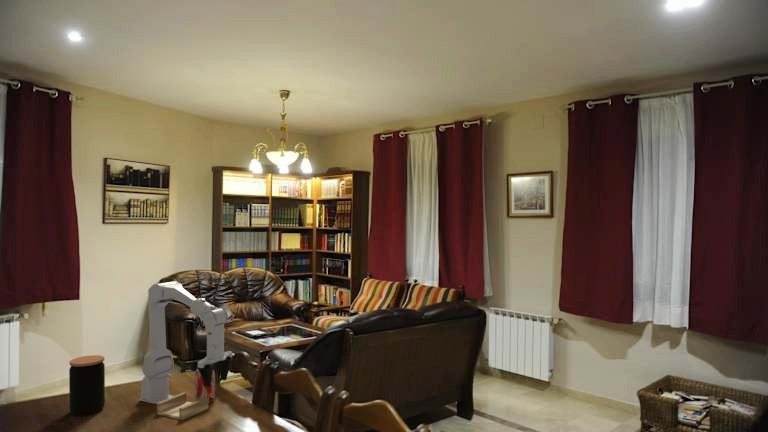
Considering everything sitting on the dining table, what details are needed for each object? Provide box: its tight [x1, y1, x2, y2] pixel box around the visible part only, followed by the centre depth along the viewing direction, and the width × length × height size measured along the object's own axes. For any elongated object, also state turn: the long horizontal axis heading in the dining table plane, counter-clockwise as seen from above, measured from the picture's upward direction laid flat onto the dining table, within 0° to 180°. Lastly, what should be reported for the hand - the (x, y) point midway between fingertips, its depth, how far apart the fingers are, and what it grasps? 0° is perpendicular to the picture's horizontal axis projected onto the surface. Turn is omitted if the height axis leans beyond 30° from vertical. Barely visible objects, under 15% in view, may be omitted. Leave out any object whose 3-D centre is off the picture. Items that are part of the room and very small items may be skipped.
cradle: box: [156, 392, 209, 421], centre depth 177 cm, size 12×12×4 cm
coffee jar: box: [68, 354, 106, 417], centre depth 178 cm, size 11×11×18 cm
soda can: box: [194, 368, 216, 404], centre depth 186 cm, size 7×7×12 cm
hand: (215, 383), depth 176 cm, fingers open, 7 cm apart
